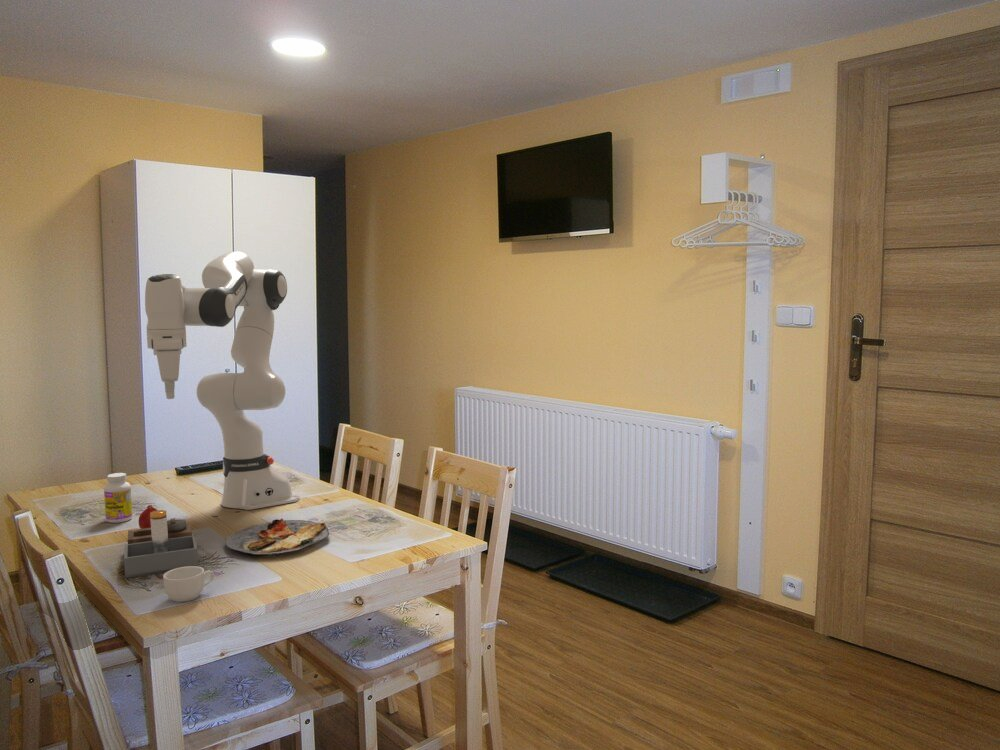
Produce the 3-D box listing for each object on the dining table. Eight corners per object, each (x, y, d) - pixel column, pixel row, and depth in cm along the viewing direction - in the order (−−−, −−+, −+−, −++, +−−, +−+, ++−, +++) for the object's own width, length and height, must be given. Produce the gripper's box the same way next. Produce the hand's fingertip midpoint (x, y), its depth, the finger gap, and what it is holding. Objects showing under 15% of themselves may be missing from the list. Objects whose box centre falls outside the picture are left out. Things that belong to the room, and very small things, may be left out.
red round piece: (139, 532, 198) (138, 503, 197) (163, 529, 200) (162, 500, 200) (138, 539, 193) (137, 508, 192) (163, 536, 195) (161, 506, 194)
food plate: (279, 522, 206) (279, 509, 206) (347, 535, 196) (346, 522, 195) (206, 552, 184) (205, 538, 184) (278, 569, 174) (277, 554, 173)
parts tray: (195, 553, 182) (194, 535, 182) (198, 567, 173) (197, 548, 172) (126, 563, 176) (125, 544, 175) (125, 578, 166) (124, 558, 166)
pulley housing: (191, 541, 191) (189, 512, 190) (192, 551, 183) (191, 521, 183) (129, 550, 185) (127, 520, 184) (128, 560, 177) (126, 529, 177)
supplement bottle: (101, 523, 206) (97, 477, 205) (113, 516, 213) (110, 471, 211) (125, 523, 206) (122, 477, 205) (137, 516, 213) (134, 471, 211)
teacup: (172, 609, 150) (170, 583, 150) (159, 597, 156) (157, 572, 155) (221, 595, 157) (220, 570, 156) (207, 584, 163) (206, 560, 162)
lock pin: (169, 559, 176) (166, 509, 175) (169, 563, 173) (166, 513, 172) (153, 561, 175) (149, 511, 174) (153, 566, 172) (150, 515, 171)
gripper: (152, 338, 194) (155, 392, 195) (153, 343, 175) (156, 402, 177) (179, 338, 196) (181, 390, 198) (182, 342, 178) (185, 400, 179)
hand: (169, 396), depth 187 cm, fingers open, 8 cm apart
